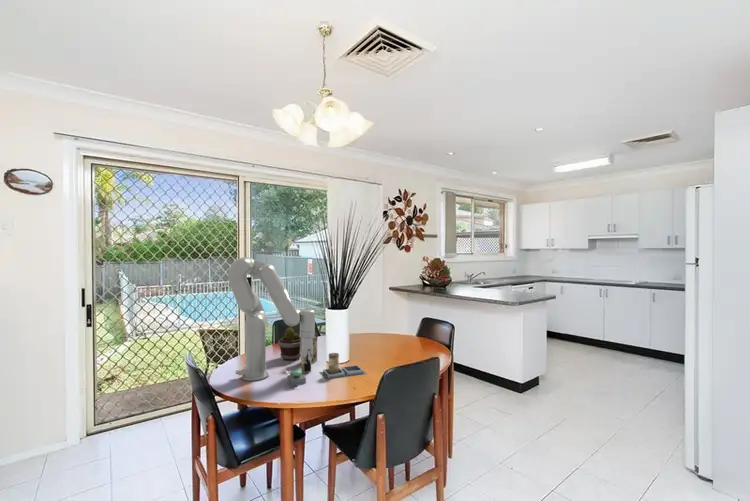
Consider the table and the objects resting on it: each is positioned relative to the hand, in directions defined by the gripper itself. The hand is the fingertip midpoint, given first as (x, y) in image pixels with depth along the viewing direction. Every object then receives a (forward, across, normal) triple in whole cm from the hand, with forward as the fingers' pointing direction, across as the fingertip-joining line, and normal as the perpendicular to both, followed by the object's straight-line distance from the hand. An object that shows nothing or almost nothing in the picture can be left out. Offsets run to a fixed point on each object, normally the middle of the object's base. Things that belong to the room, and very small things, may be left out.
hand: (306, 368), depth 186 cm
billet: (+2, 0, 0) cm, 2 cm away
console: (+2, +13, -7) cm, 15 cm away
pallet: (+2, +10, +17) cm, 20 cm away
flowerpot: (+3, -29, -2) cm, 29 cm away
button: (0, +13, -7) cm, 15 cm away
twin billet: (+1, +10, +12) cm, 15 cm away
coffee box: (+3, -17, +6) cm, 18 cm away
